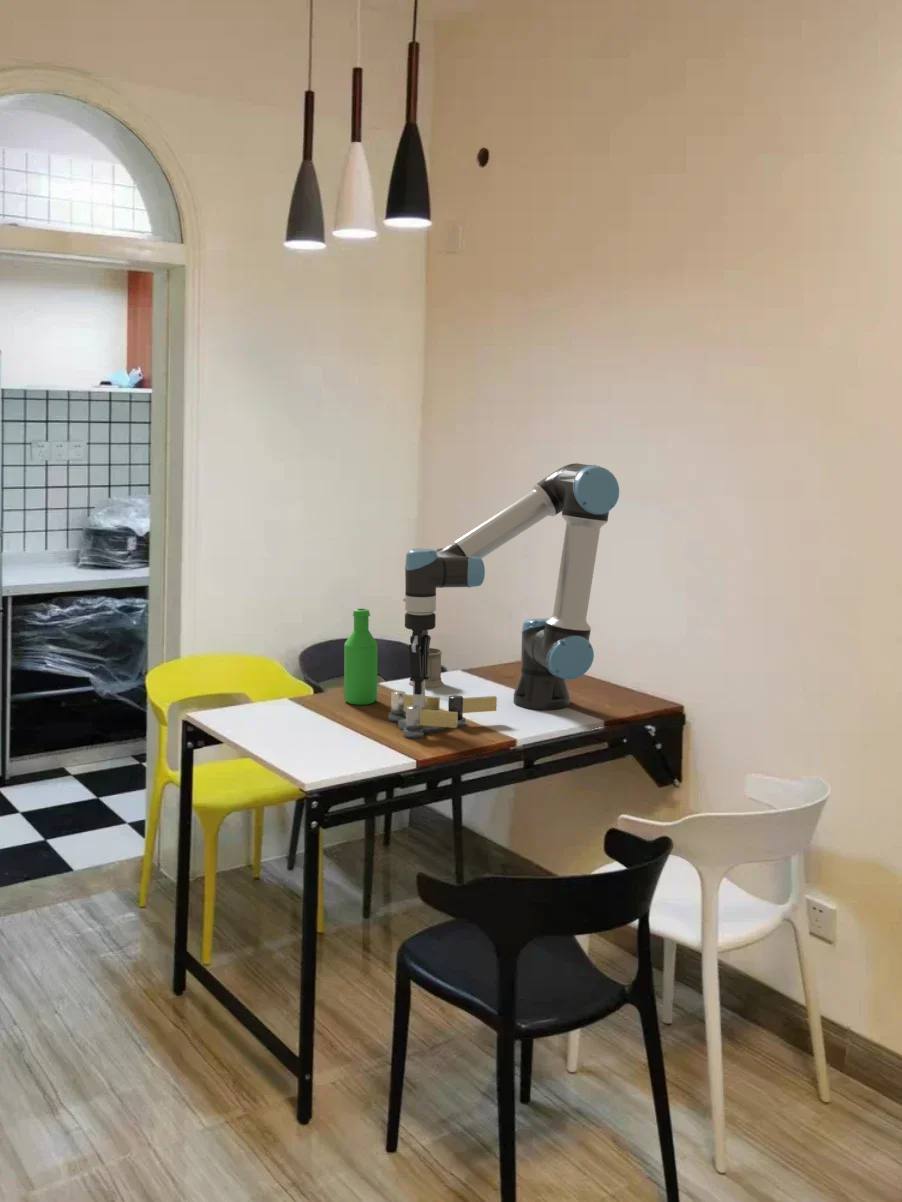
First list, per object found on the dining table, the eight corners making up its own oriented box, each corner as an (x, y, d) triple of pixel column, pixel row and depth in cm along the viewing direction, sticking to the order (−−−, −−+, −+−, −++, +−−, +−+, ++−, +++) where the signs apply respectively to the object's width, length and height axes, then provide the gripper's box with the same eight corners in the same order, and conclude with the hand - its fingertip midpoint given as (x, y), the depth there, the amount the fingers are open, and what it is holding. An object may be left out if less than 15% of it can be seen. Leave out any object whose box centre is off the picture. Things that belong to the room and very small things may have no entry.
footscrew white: (389, 715, 284) (389, 693, 283) (393, 711, 287) (393, 690, 286) (437, 719, 281) (437, 697, 280) (440, 715, 284) (441, 694, 283)
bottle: (379, 698, 306) (380, 607, 302) (374, 706, 297) (375, 612, 293) (347, 696, 307) (347, 606, 303) (341, 704, 298) (341, 611, 294)
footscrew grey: (404, 730, 270) (404, 708, 269) (408, 727, 273) (408, 704, 272) (455, 735, 267) (455, 712, 266) (458, 731, 270) (458, 708, 270)
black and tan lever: (450, 720, 279) (451, 699, 279) (446, 717, 283) (446, 695, 282) (497, 717, 283) (498, 696, 282) (492, 714, 287) (493, 692, 286)
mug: (412, 679, 329) (413, 638, 327) (445, 680, 328) (446, 640, 326) (403, 690, 315) (404, 648, 313) (438, 692, 314) (439, 650, 312)
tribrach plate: (467, 722, 284) (467, 713, 283) (451, 742, 267) (451, 732, 266) (391, 716, 288) (391, 707, 288) (370, 735, 271) (370, 725, 271)
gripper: (412, 607, 283) (410, 698, 287) (398, 615, 271) (397, 711, 275) (441, 608, 282) (439, 700, 286) (428, 617, 269) (427, 713, 273)
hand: (418, 705), depth 280 cm, fingers closed
